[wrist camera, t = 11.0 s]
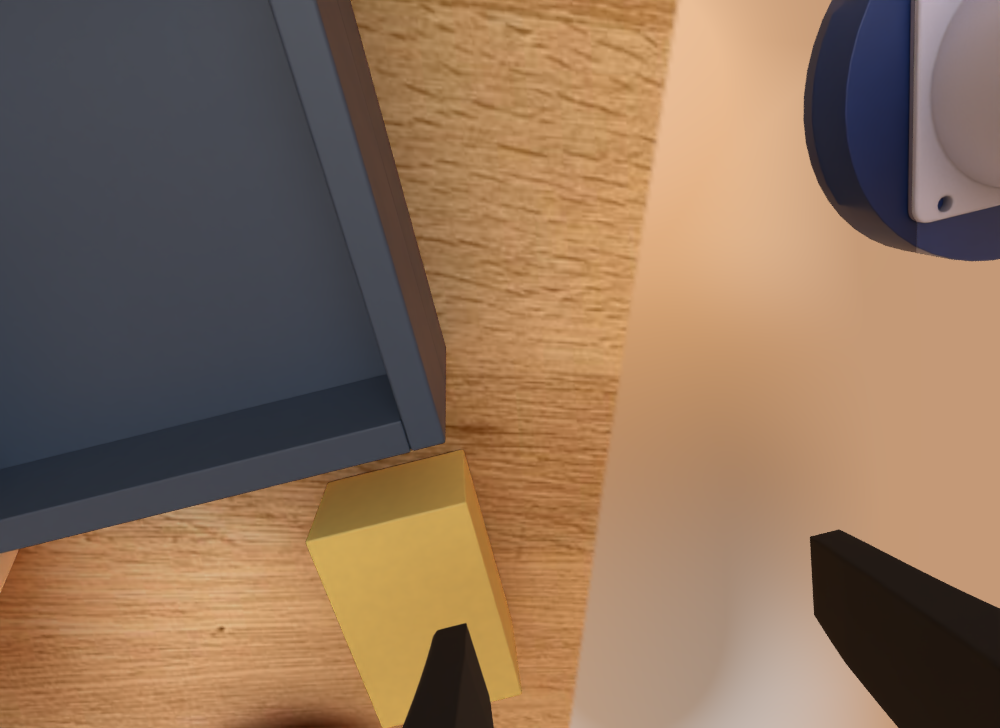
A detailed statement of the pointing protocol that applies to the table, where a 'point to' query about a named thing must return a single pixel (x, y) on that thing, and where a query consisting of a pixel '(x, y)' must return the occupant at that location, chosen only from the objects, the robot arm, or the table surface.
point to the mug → (6, 565)
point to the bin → (198, 261)
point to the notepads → (412, 576)
